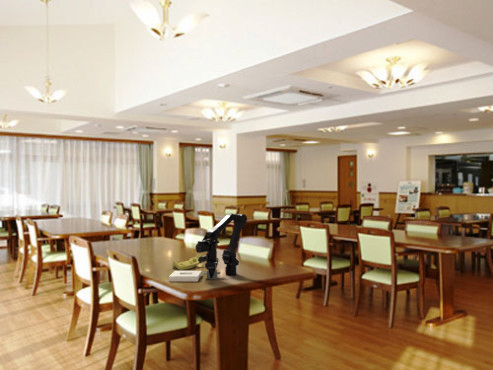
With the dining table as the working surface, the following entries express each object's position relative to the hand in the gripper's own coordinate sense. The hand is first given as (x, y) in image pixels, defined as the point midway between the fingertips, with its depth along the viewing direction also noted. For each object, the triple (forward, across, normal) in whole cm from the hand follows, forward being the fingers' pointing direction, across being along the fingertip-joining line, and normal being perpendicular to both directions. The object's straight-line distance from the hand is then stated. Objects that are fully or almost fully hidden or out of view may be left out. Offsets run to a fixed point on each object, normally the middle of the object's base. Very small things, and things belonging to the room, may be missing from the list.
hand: (212, 276), depth 253 cm
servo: (+1, 0, 0) cm, 1 cm away
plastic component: (+2, -33, -21) cm, 39 cm away
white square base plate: (+1, 0, -16) cm, 16 cm away
